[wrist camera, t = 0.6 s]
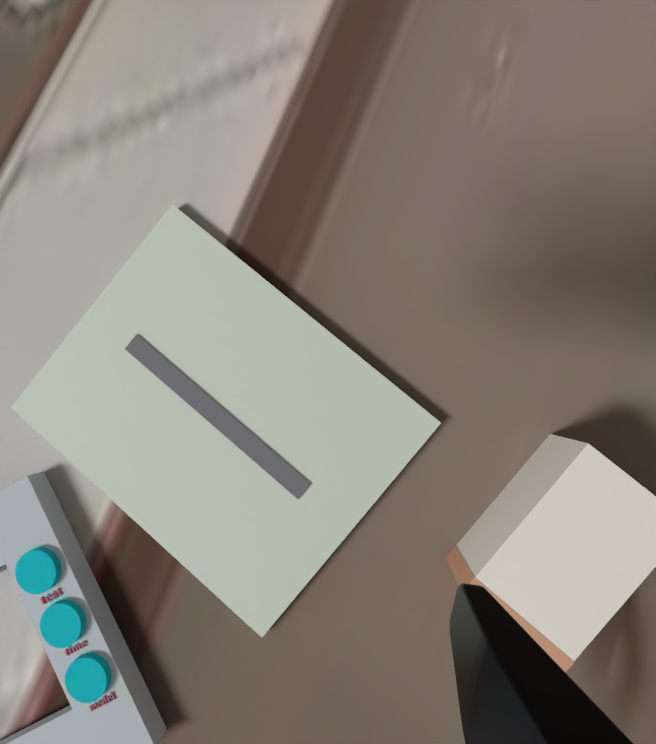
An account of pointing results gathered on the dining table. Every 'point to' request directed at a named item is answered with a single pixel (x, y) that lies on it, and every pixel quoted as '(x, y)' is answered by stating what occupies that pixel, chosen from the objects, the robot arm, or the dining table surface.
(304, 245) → the dining table surface
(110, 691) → the electronic device
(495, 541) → the block
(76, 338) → the mat
